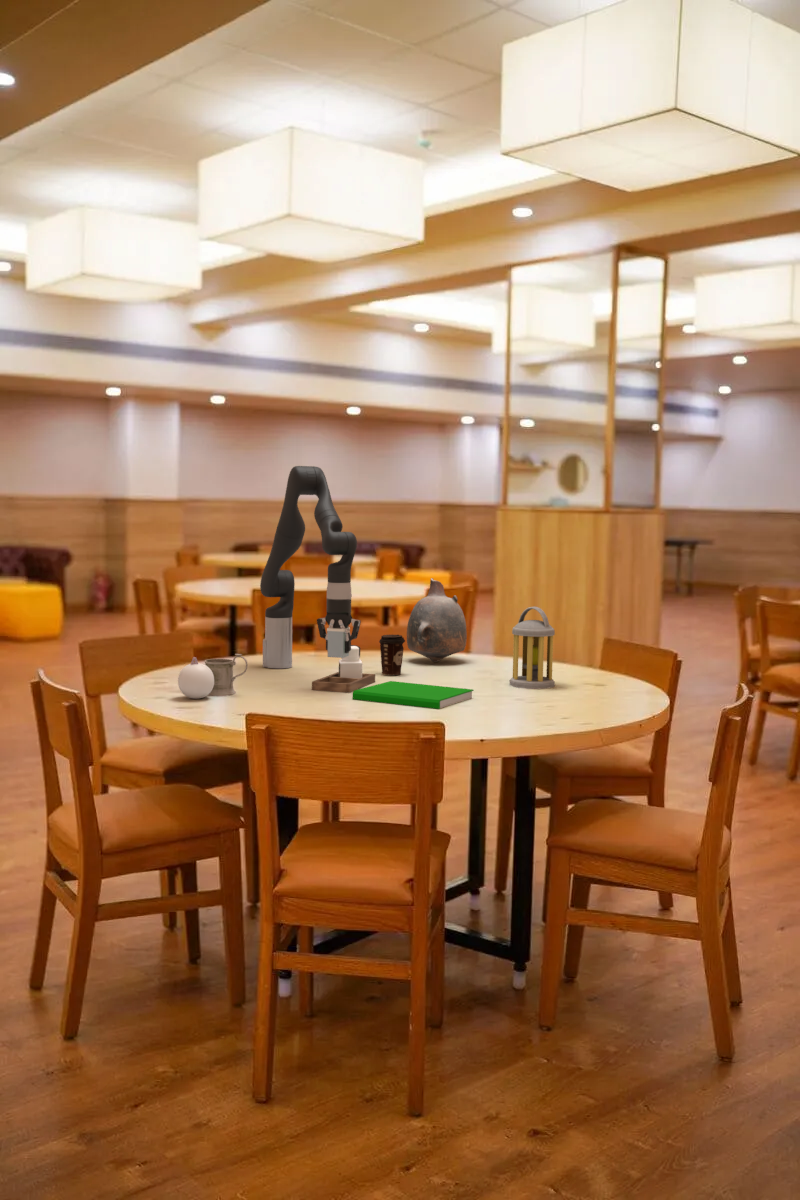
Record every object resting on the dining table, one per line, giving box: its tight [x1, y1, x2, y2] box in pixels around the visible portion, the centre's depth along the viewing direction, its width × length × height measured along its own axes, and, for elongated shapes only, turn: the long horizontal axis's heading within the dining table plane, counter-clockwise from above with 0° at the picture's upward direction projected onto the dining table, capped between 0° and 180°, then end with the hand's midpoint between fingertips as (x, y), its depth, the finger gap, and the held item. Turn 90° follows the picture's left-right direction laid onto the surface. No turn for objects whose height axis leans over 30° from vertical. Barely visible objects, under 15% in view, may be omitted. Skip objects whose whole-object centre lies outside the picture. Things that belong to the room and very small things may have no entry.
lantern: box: [509, 606, 556, 690], centre depth 378 cm, size 14×14×25 cm
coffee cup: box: [378, 634, 406, 676], centre depth 396 cm, size 9×8×13 cm
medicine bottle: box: [338, 644, 363, 679], centre depth 376 cm, size 7×7×12 cm
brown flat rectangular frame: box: [311, 671, 376, 694], centre depth 371 cm, size 12×23×2 cm, turn 162°
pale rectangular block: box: [326, 626, 351, 659], centre depth 365 cm, size 5×5×9 cm
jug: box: [406, 577, 468, 663], centre depth 427 cm, size 24×21×30 cm
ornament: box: [177, 656, 214, 700], centre depth 344 cm, size 10×10×12 cm
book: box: [352, 680, 474, 710], centre depth 350 cm, size 22×28×3 cm
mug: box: [204, 653, 249, 697], centre depth 353 cm, size 14×10×12 cm
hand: (338, 652), depth 366 cm, fingers closed on pale rectangular block, 5 cm apart
